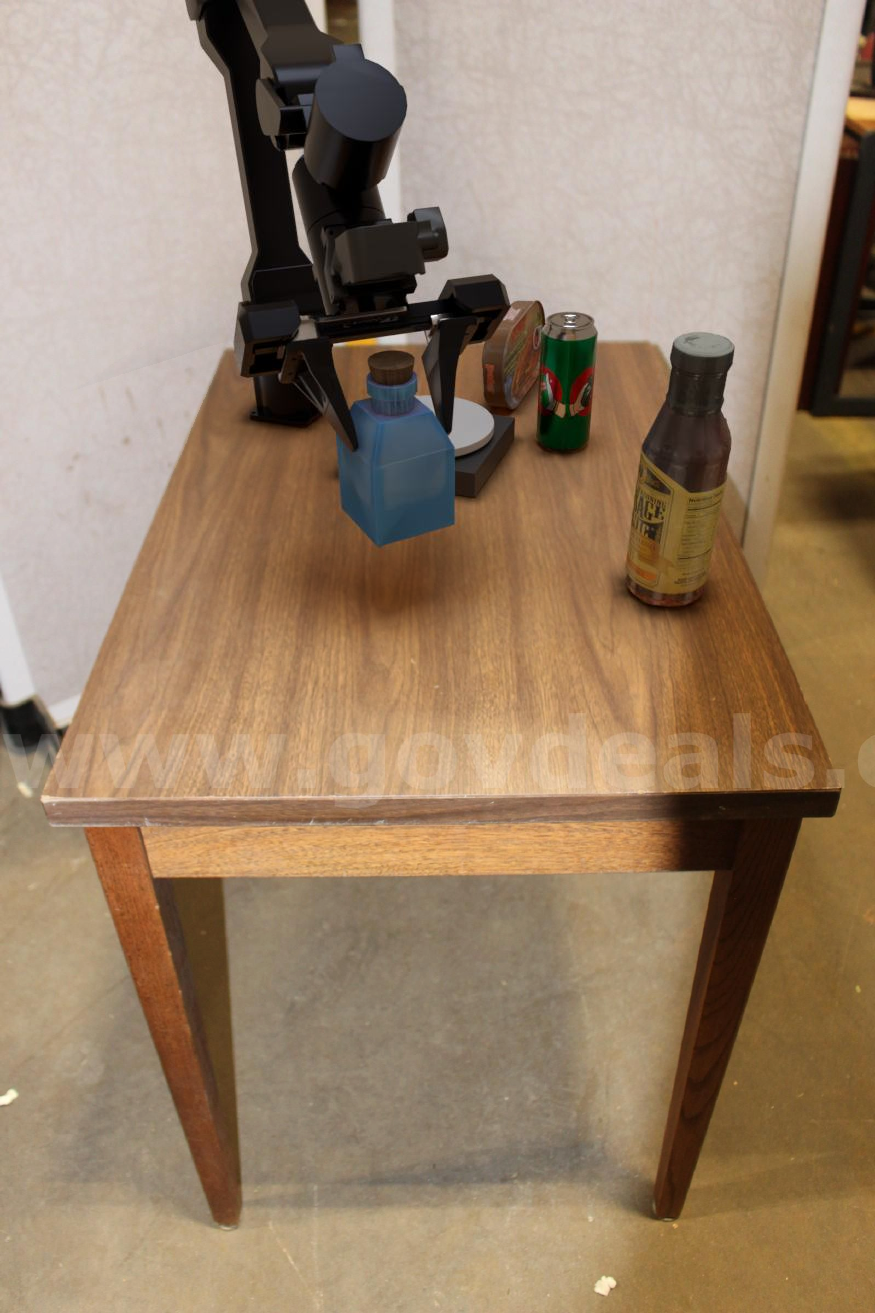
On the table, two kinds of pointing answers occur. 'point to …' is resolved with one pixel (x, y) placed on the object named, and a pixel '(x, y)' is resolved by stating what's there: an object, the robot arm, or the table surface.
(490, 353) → the tin
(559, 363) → the soda can
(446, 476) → the perfume bottle
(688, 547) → the sauce bottle
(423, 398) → the scale
